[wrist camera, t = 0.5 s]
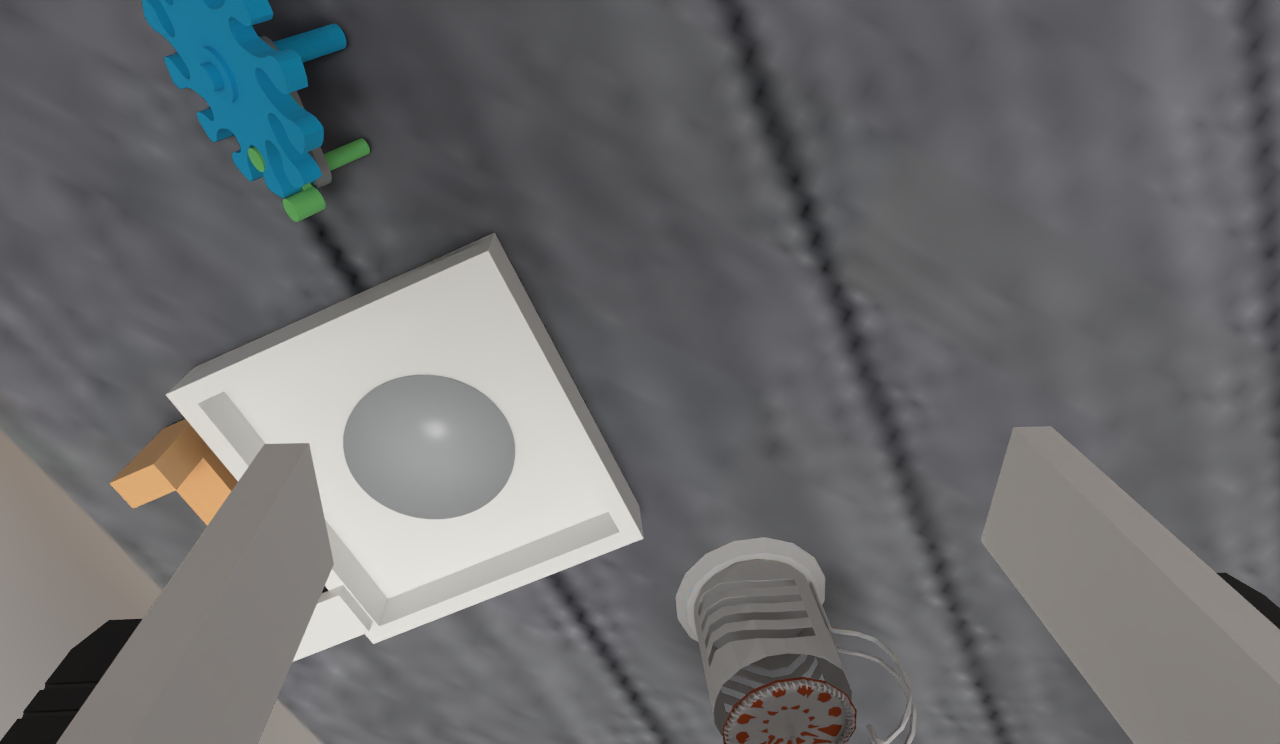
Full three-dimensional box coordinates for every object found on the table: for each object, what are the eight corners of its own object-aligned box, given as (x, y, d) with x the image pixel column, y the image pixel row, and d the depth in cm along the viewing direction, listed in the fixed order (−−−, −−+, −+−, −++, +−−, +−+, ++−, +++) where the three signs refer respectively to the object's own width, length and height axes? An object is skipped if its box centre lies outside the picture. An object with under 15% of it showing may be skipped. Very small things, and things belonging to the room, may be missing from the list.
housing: (111, 404, 38) (66, 442, 35) (494, 232, 36) (486, 256, 32) (314, 634, 46) (293, 684, 43) (639, 505, 44) (644, 548, 40)
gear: (83, -60, 28) (191, -91, 22) (230, -87, 32) (357, -121, 26) (225, 211, 34) (339, 243, 28) (334, 164, 38) (456, 183, 32)
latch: (163, 428, 39) (109, 483, 34) (202, 411, 39) (153, 464, 34) (265, 547, 43) (228, 611, 38) (301, 533, 42) (269, 594, 38)
